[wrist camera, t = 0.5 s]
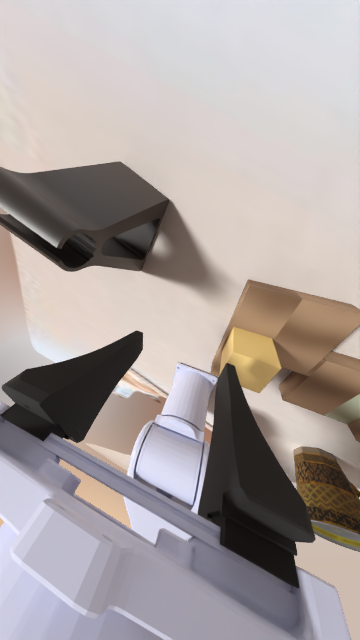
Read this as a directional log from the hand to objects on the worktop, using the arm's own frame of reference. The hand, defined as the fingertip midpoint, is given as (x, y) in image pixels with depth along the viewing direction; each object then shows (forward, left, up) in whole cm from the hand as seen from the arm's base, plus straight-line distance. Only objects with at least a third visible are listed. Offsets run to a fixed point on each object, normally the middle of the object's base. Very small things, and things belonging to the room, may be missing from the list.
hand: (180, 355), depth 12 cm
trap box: (-3, -14, -10) cm, 18 cm away
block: (-3, -7, -8) cm, 11 cm away
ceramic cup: (-25, -31, -10) cm, 42 cm away
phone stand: (+8, +11, -10) cm, 17 cm away
